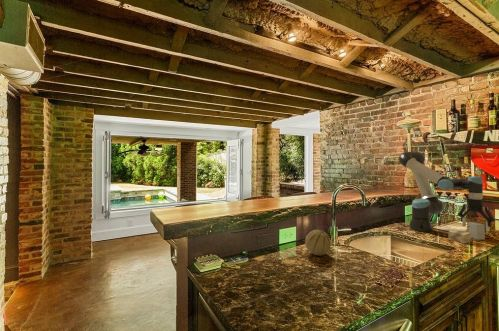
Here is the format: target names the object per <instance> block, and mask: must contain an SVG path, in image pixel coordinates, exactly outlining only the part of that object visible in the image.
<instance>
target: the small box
mask: <svg viewBox="0 0 499 331" xmlns="http://www.w3.org/2000/svg"><path fill="white" fill-rule="evenodd" d="M485 231H486V224H484V223H481V222H476V221H466V232H469V233H471V239H474V240H478V241H479V240H480V241H482V240H483V241H484V240H485V237H486V236H485Z"/></svg>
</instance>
